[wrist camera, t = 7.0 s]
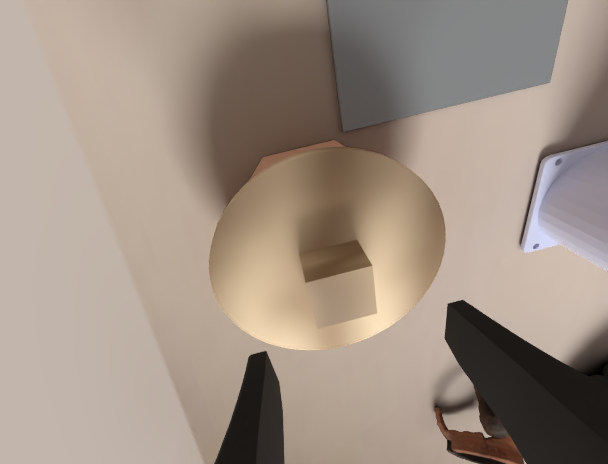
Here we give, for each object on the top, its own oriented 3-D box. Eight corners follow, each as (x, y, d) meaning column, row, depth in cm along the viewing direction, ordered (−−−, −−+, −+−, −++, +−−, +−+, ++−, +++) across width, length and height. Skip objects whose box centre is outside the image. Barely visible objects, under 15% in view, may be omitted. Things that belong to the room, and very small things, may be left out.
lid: (442, 117, 13) (490, 130, 10) (433, 311, 19) (461, 349, 17) (168, 184, 12) (146, 215, 10) (251, 359, 19) (251, 405, 16)
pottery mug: (510, 396, 37) (525, 477, 32) (431, 381, 41) (433, 453, 36) (542, 366, 29) (569, 470, 24) (438, 351, 32) (443, 440, 27)
